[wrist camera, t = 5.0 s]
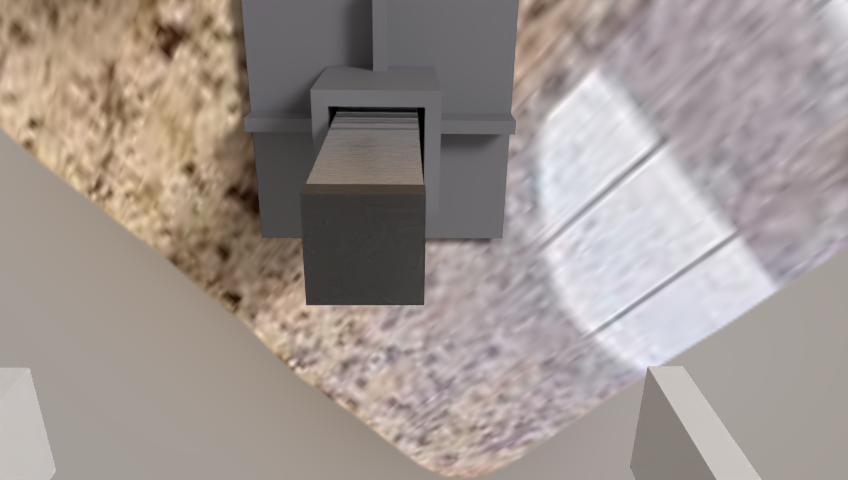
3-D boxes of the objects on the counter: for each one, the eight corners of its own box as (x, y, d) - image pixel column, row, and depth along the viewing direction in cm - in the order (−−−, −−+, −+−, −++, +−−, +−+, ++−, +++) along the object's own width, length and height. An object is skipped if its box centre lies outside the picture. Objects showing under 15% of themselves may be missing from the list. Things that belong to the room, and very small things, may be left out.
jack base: (265, 231, 44) (233, 294, 36) (243, -23, 38) (198, -19, 30) (500, 232, 45) (522, 294, 36) (517, -19, 38) (548, -13, 30)
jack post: (348, 153, 41) (306, 304, 23) (346, 86, 39) (299, 193, 21) (414, 153, 41) (424, 305, 23) (415, 87, 39) (426, 194, 21)
